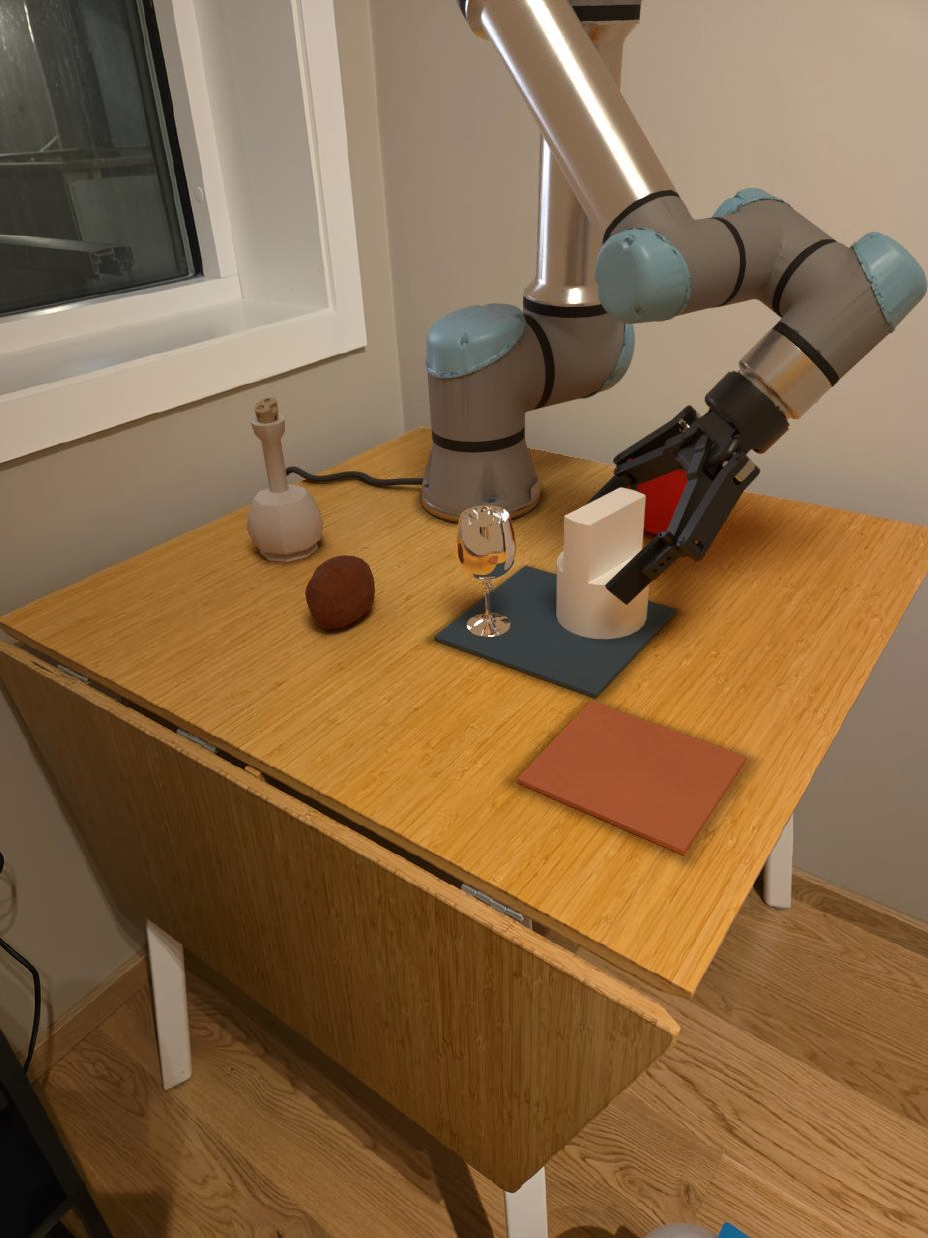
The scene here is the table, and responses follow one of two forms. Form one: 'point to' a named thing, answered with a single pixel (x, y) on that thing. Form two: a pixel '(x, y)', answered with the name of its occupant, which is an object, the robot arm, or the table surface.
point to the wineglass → (486, 559)
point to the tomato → (662, 499)
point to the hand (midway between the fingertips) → (595, 561)
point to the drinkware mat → (550, 636)
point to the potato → (340, 591)
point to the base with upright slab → (600, 566)
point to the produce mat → (634, 775)
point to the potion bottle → (280, 498)
